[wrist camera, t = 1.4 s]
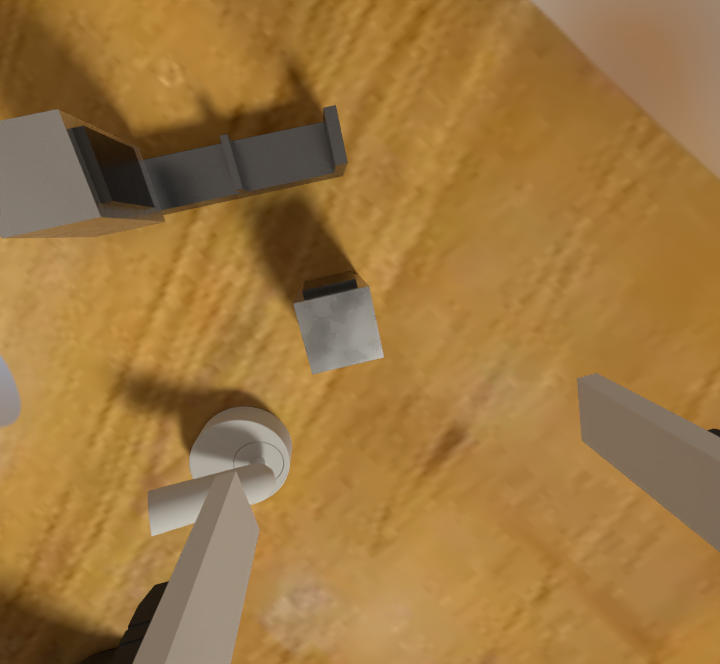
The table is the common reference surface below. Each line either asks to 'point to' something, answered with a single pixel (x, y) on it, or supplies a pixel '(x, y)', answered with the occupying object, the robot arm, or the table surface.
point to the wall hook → (226, 465)
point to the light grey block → (337, 322)
